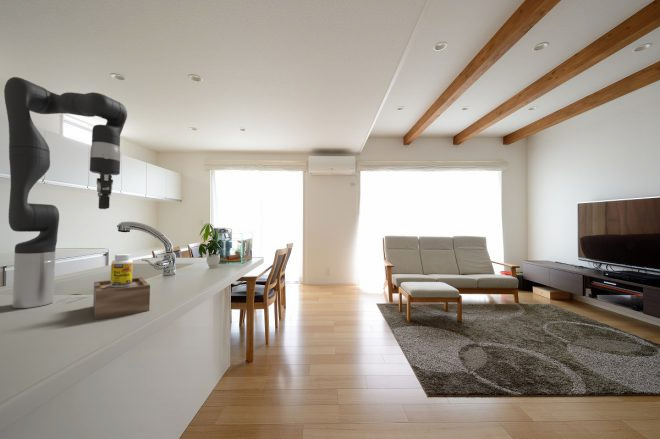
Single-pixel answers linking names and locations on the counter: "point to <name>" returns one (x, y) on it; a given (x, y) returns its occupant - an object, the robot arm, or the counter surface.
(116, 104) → the robot arm
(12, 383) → the counter surface
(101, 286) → the wooden box
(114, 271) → the supplement bottle
